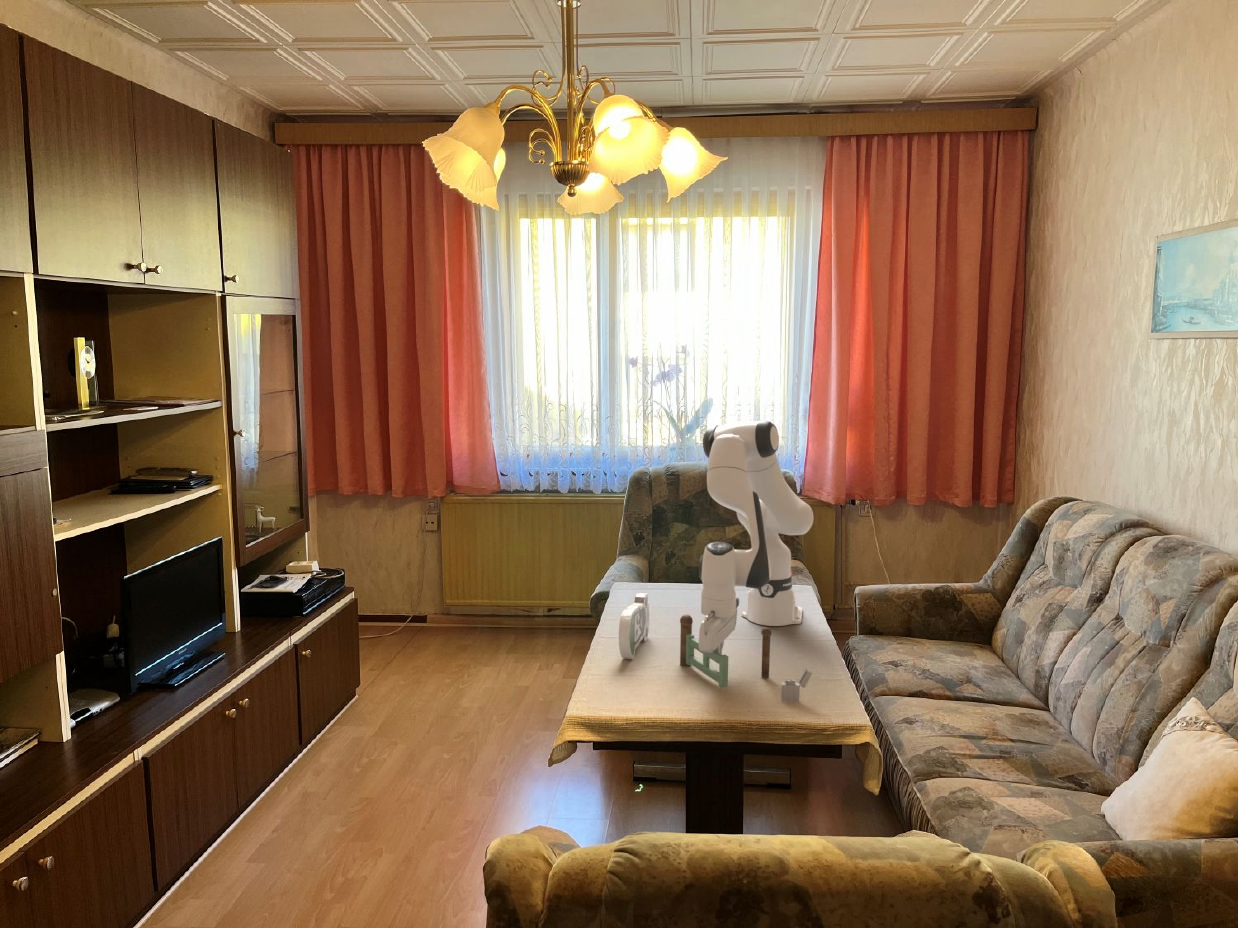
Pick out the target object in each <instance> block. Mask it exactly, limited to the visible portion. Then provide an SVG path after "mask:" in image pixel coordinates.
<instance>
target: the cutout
mask: <svg viewBox="0 0 1238 928" xmlns="http://www.w3.org/2000/svg"><path fill="white" fill-rule="evenodd" d="M634 597H635V598H634V602H633V603H630V604H629V605H628V606H627V607H626V608H624V609H623V611H622V612H621V616H620V620H619V625H618V646H619V653H620V656H621V659H626V660H634V659H635V655H636V649H637V648H638V647H639V646H640V644H641V642H642V643H643V642H644V643H646V642H647V640H648V639H649V632H650V603H649V594H648V593H641V592H640V593H639V592H637V593H636V594H635V596H634ZM647 638H648V639H647ZM633 658H634V659H633Z"/></svg>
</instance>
